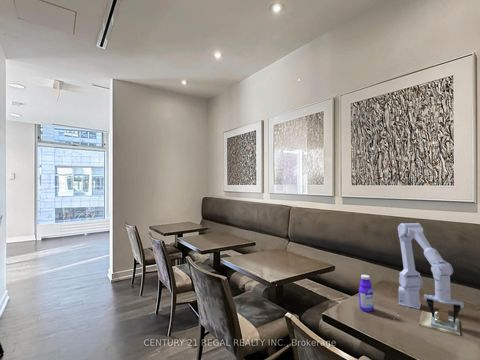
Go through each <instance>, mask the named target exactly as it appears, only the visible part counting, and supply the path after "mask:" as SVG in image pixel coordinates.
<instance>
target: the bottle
mask: <svg viewBox="0 0 480 360" xmlns="http://www.w3.org/2000/svg"><path fill="white" fill-rule="evenodd" d="M360 277H361V278H360V282H359V288H358V298H359V299H358V300H359V301H358V302H359V303H358V304H359V305H358V306H359V309H360V310H361V311H364V312H371V311H373V310H374V304H375V303H374V302H375V301H374V289H373V287H372V282H371V276H370V275H368V274H361V275H360Z"/></svg>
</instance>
